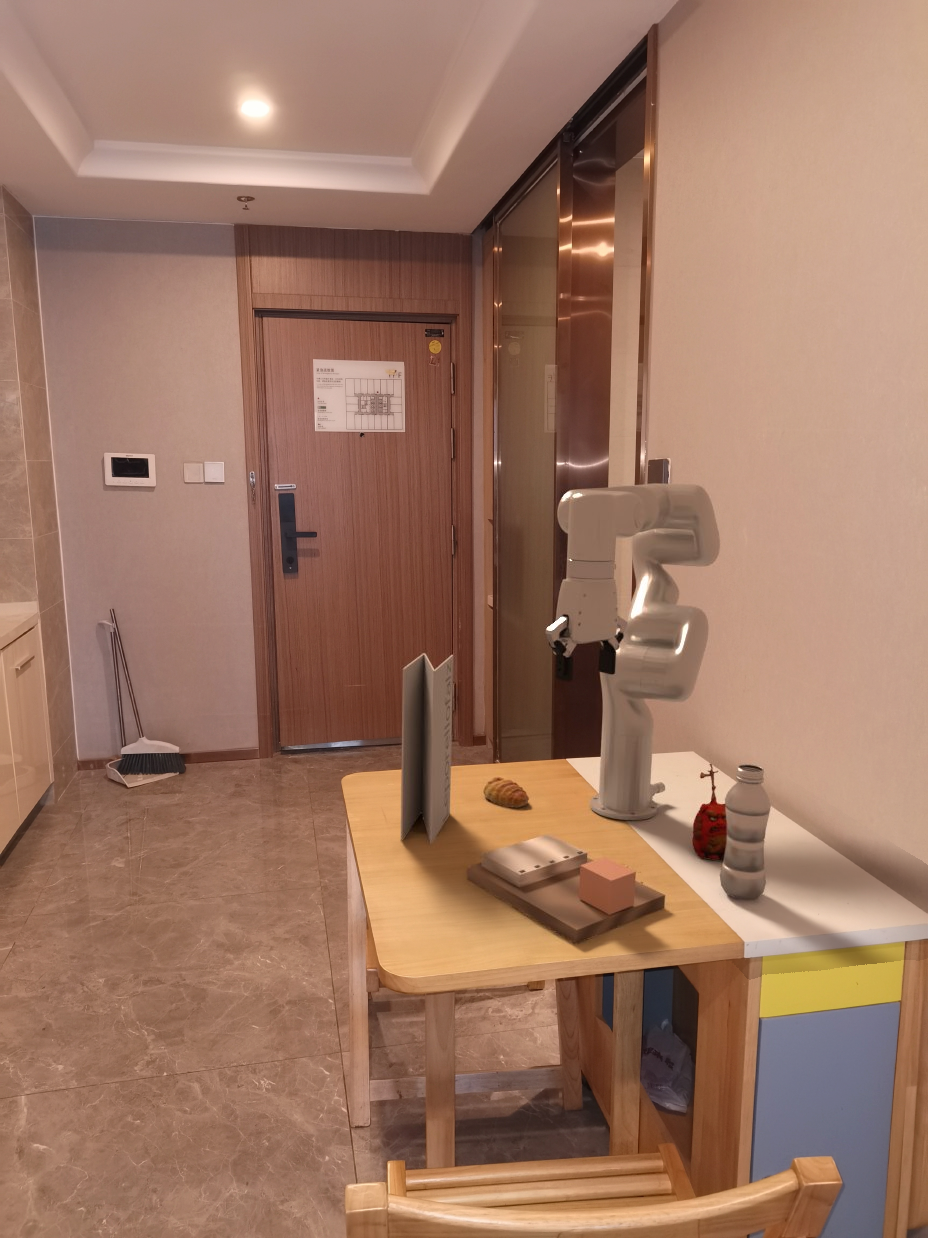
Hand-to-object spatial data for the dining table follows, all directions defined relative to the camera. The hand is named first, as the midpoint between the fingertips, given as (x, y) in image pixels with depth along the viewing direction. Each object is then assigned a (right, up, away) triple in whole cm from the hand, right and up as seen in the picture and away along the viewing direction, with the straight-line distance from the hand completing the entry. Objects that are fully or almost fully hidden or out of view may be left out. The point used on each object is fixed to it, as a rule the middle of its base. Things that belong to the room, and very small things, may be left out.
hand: (585, 676), depth 145 cm
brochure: (-26, -28, +15) cm, 41 cm away
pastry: (-11, -26, +30) cm, 41 cm away
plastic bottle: (+22, -33, -9) cm, 41 cm away
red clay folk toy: (+22, -31, +6) cm, 38 cm away
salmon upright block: (+1, -31, -17) cm, 35 cm away
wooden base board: (-5, -32, -10) cm, 34 cm away
